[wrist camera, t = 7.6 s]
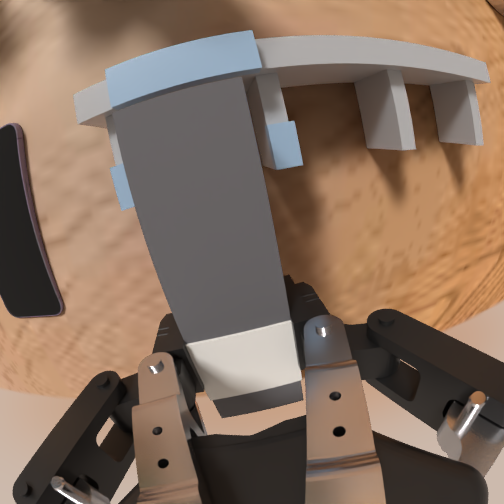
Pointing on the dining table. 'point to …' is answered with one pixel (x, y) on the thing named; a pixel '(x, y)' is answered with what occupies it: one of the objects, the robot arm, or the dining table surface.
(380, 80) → the grey pronged rack
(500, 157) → the dining table surface
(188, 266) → the gray rectangular block
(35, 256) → the smartphone
